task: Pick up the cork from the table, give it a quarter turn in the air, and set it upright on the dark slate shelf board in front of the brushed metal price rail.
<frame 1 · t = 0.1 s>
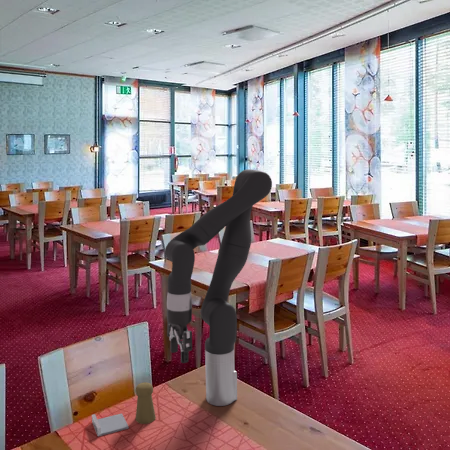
hand: (179, 357, 154), 17 cm above the table, tool pointing down, fingers open, 8 cm apart
slate shelf board: (111, 425, 149), on the table
price rail: (96, 428, 147), on the table
cork: (145, 418, 152), on the table
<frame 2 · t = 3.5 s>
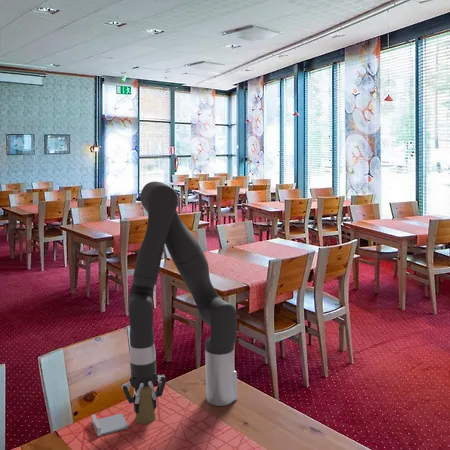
hand: (145, 411, 152), 2 cm above the table, tool pointing down, fingers closed on cork, 4 cm apart
cork: (145, 418, 152), on the table, touching gripper
when the fingers open (4 cm above the table, at t = 9.5 s): cork drops 1 cm, resting on slate shelf board.
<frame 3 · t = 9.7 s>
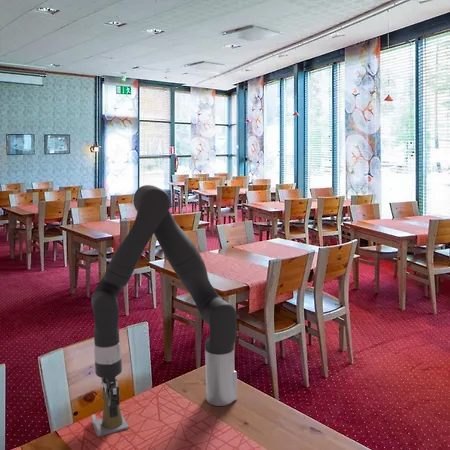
hand: (111, 410, 148), 5 cm above the table, tool pointing down, fingers open, 6 cm apart
cork: (112, 423, 149), resting on slate shelf board
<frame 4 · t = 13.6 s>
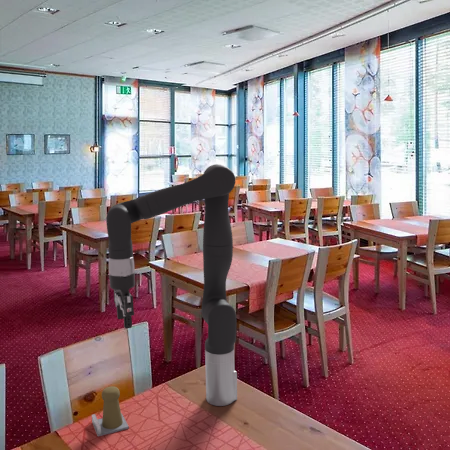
hand: (124, 323, 153), 28 cm above the table, tool pointing down, fingers open, 8 cm apart
nothing on the table moved.
at the end: cork 0.2 cm off-centre on the slate shelf board, point 0.4 cm above the slate shelf board's base; cork tilted 0°; the gripper is holding nothing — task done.
